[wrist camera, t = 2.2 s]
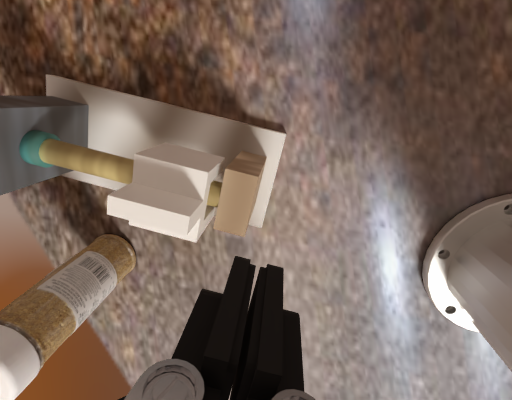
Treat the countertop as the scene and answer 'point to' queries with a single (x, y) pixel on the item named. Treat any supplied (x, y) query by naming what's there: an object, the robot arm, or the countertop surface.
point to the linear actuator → (132, 145)
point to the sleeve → (168, 191)
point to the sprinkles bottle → (57, 309)
